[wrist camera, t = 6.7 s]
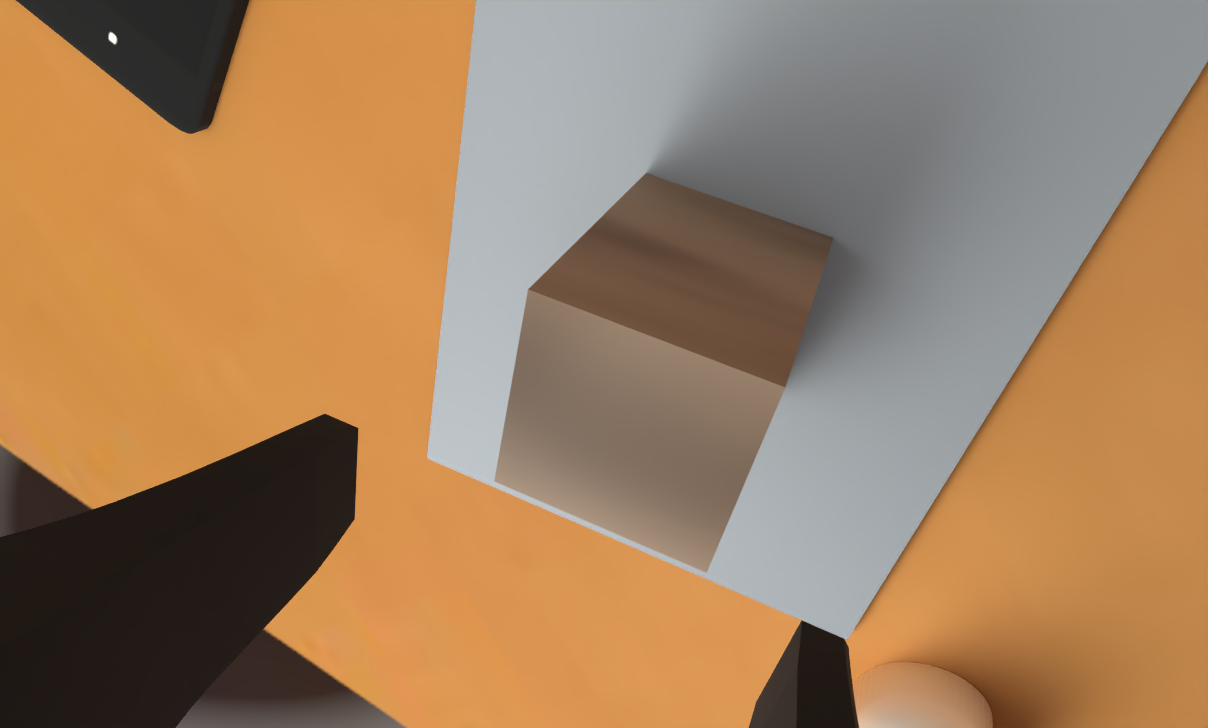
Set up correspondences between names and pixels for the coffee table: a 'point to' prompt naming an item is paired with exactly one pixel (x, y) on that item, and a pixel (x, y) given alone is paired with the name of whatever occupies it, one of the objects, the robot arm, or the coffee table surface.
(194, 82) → the cell phone
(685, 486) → the walnut block
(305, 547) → the robot arm
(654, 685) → the coffee table surface
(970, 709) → the cream rounded cylinder
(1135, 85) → the slate board
